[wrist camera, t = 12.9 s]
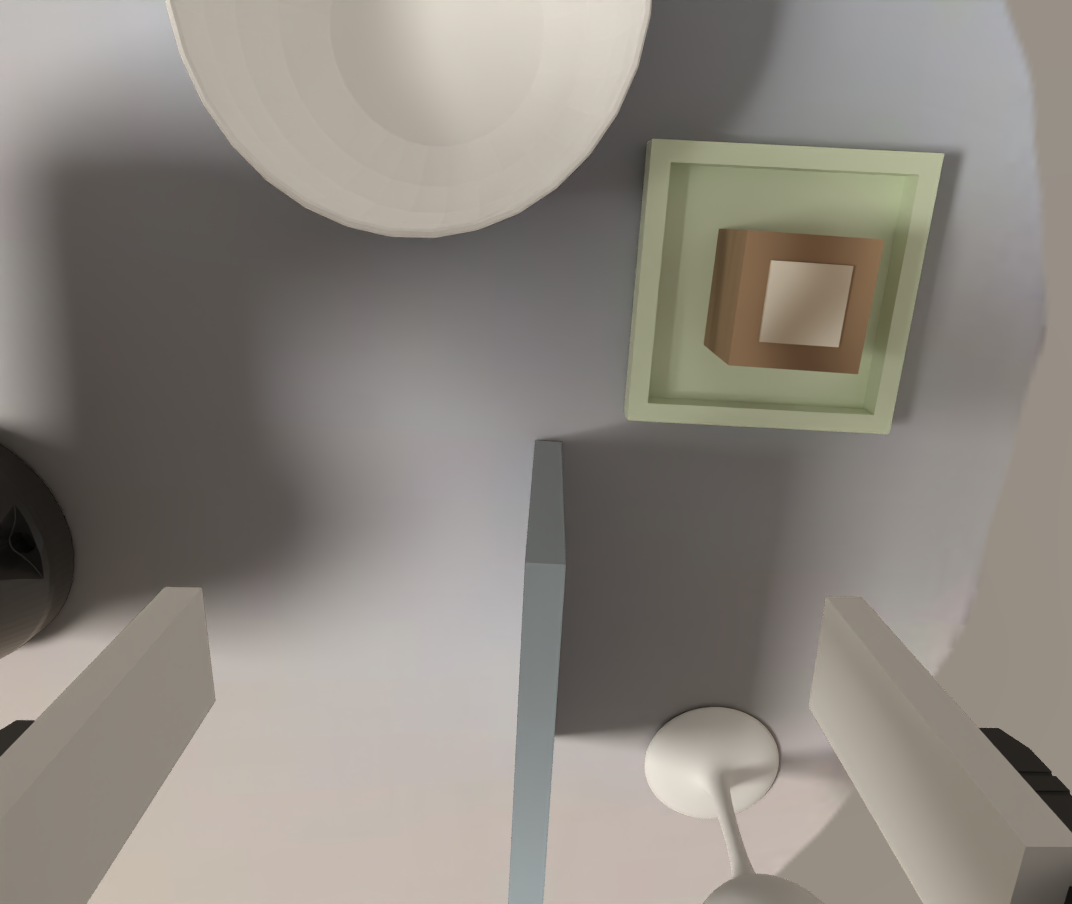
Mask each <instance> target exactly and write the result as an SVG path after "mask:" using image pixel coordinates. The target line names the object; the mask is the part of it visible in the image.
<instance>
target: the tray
mask: <svg viewBox="0 0 1072 904" xmlns="http://www.w3.org/2000/svg"><path fill="white" fill-rule="evenodd" d="M943 158H944V153H925V152H906V151H886V150H866V149H847V148H827V147H807V146H788V145H768V144H749V143H729V142H709V141H690V140H670V139H651V140H650V141H649V142H648V143H647V149H646V160H645V172H644V183H643V195H642V206H641V218H640V230H639V241H638V253H637V264H636V276H635V287H634V299H633V311H632V322H631V334H630V345H629V357H628V368H627V380H626V391H625V403H624V413H625V415H626V418H627V420H629V421H647V422H666V423H685V424H704V425H722V426H741V427H760V428H779V429H797V430H816V431H835V432H853V433H872V434H889V433H890V428H891V423H892V418H893V413H894V408H895V403H896V398H897V393H898V388H899V382H900V377H901V372H902V367H903V362H904V357H905V352H906V347H907V342H908V337H909V331H910V326H911V321H912V316H913V311H914V306H915V301H916V296H917V291H918V286H919V281H920V275H921V270H922V265H923V260H924V255H925V250H926V245H927V240H928V235H929V230H930V225H931V219H932V214H933V209H934V204H935V199H936V194H937V189H938V184H939V179H940V174H941V168H942V163H943ZM719 229H736V230H754V231H768V232H783V233H797V234H812V235H826V236H841V237H855V238H870V239H884V245H883V250H882V255H881V260H880V265H879V270H878V275H877V280H876V285H875V290H874V296H873V301H872V306H871V311H870V316H869V321H868V326H867V331H866V336H865V341H864V347H863V352H862V357H861V362H860V367H859V372H858V374H847V373H832V372H818V371H803V370H789V369H775V368H760V367H746V366H731V365H727V364H726V363H725V362H724V361H723V360H721V359H720V358H719V357H718V356H716V355H715V354H714V353H713V352H712V351H710V350H709V349H708V348H707V347H706V346H704V337H705V329H706V322H707V314H708V307H709V299H710V292H711V284H712V277H713V269H714V262H715V254H716V246H717V239H718V231H719Z"/></svg>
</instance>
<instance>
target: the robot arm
mask: <svg viewBox="0 0 1072 904" xmlns="http://www.w3.org/2000/svg"><path fill="white" fill-rule="evenodd" d="M73 570H74V555H73V546H72V541H71V536H70V533H69V529H68V526H67V524H66V521H65V518H64V516H63V514H62V512H61V510H60V508H59V506H58V504H57V502H56V500H55V499H54V497H53V496H52V494H51V493H50V491H49V490H48V488H47V487H46V486H45V484H44V483H43V482H42V481H41V479H40V478H39V477H38V476H37V475H36V474H35V473H34V472H33V471H32V470H31V469H30V468H29V467H28V466H27V465H26V464H25V463H24V462H23V461H22V460H21V459H19V458H18V457H17V456H16V455H14V454H13V453H12V452H10V451H9V450H8V449H6V448H5V447H3V446H2V445H0V659H1V658H3V657H5V656H6V655H8V654H10V653H12V652H13V651H15V650H17V649H18V648H20V647H21V646H22V645H24V644H25V643H26V642H27V641H29V640H30V639H31V638H32V637H34V636H35V635H36V634H37V633H39V632H40V631H41V630H42V629H44V628H45V627H46V626H47V625H48V624H49V623H50V622H51V621H52V620H53V619H54V618H55V616H56V615H57V614H58V613H59V611H60V610H61V608H62V606H63V604H64V603H65V601H66V598H67V596H68V593H69V590H70V587H71V583H72V578H73ZM215 701H216V700H215V692H214V683H213V675H212V667H211V658H210V650H209V642H208V633H207V625H206V617H205V608H204V600H203V592H202V588H200V587H164V588H163V589H162V590H161V591H160V592H159V594H158V595H157V596H156V597H155V598H154V599H153V600H152V601H151V602H150V603H149V604H148V605H147V606H146V607H145V608H144V609H143V610H142V611H141V612H140V613H139V614H138V615H137V616H136V617H135V618H134V619H133V620H132V621H131V622H130V623H129V624H128V626H127V627H126V628H125V629H124V630H123V631H122V632H121V633H120V634H119V635H118V636H117V637H116V638H115V639H114V640H113V641H112V642H111V643H110V644H109V645H108V646H107V647H106V648H105V649H104V650H103V651H102V652H101V653H100V654H99V655H98V656H97V658H96V659H95V660H94V661H93V662H92V663H91V664H90V665H89V666H88V667H87V668H86V669H85V670H84V671H83V672H82V673H81V674H80V675H79V676H78V677H77V678H76V679H75V680H74V681H73V682H72V683H71V684H70V685H69V686H68V687H67V688H66V690H65V691H64V692H63V693H62V694H61V695H60V696H59V697H58V698H57V699H56V700H55V701H54V702H53V703H52V704H51V705H50V706H49V707H48V708H47V709H46V710H45V711H44V712H43V713H42V714H41V715H40V716H39V717H38V718H37V719H36V721H34V720H16V721H15V722H13V723H11V724H10V725H8V726H6V727H5V728H3V729H1V730H0V904H87V902H88V901H89V899H90V897H91V896H92V894H93V893H94V891H95V890H96V888H97V886H98V885H99V883H100V882H101V880H102V879H103V877H104V875H105V874H106V872H107V871H108V869H109V868H110V866H111V864H112V863H113V861H114V860H115V858H116V857H117V855H118V853H119V852H120V850H121V849H122V847H123V845H124V844H125V842H126V841H127V839H128V838H129V836H130V834H131V833H132V831H133V830H134V828H135V827H136V825H137V823H138V822H139V820H140V819H141V817H142V816H143V814H144V812H145V811H146V809H147V808H148V806H149V805H150V803H151V801H152V800H153V798H154V797H155V795H156V794H157V792H158V790H159V789H160V787H161V786H162V784H163V783H164V781H165V779H166V778H167V776H168V775H169V773H170V772H171V770H172V768H173V767H174V765H175V764H176V762H177V761H178V759H179V757H180V756H181V754H182V753H183V751H184V750H185V748H186V746H187V745H188V743H189V742H190V740H191V739H192V737H193V735H194V734H195V732H196V731H197V729H198V728H199V726H200V724H201V723H202V721H203V720H204V718H205V717H206V715H207V713H208V712H209V710H210V709H211V707H212V706H213V704H214V702H215ZM809 709H810V710H811V712H812V714H813V715H814V717H815V719H816V721H817V722H818V724H819V726H820V727H821V729H822V731H823V733H824V734H825V736H826V738H827V739H828V741H829V743H830V745H831V746H832V748H833V750H834V751H835V753H836V755H837V757H838V758H839V760H840V762H841V763H842V765H843V767H844V769H845V770H846V772H847V774H848V775H849V777H850V779H851V781H852V782H853V784H854V786H855V787H856V789H857V791H858V793H859V794H860V796H861V797H862V799H863V801H864V803H865V805H866V806H867V808H868V810H869V811H870V813H871V815H872V816H873V818H874V820H875V822H876V823H877V825H878V827H879V829H880V830H881V832H882V834H883V835H884V837H885V839H886V841H887V842H888V844H889V846H890V847H891V849H892V851H893V853H894V854H895V856H896V858H897V859H898V861H899V863H900V865H901V866H902V868H903V870H904V871H905V873H906V875H907V877H908V878H909V880H910V882H911V883H912V885H913V887H914V888H915V890H916V892H917V894H918V895H919V897H920V899H921V901H922V902H923V904H1072V796H1071V795H1070V791H1069V789H1068V788H1066V786H1065V785H1064V784H1063V783H1062V782H1061V781H1060V780H1059V779H1058V778H1057V777H1056V776H1052V774H1051V771H1050V770H1049V768H1047V766H1046V765H1045V764H1044V763H1043V762H1042V761H1041V760H1040V759H1039V758H1038V757H1037V756H1036V755H1035V754H1034V753H1033V752H1032V751H1031V750H1030V749H1029V748H1028V747H1026V746H1025V745H1023V744H1022V743H1020V742H1019V741H1017V740H1016V739H1014V738H1013V737H1011V736H1009V735H1008V734H1007V733H1005V732H1004V731H1002V730H1000V729H999V728H978V727H977V726H976V725H975V724H974V722H973V721H972V720H971V719H970V718H969V717H968V716H967V715H966V713H965V712H964V711H963V710H962V709H961V708H960V707H959V706H958V705H957V703H956V702H955V701H954V700H953V699H952V698H951V697H950V696H949V695H948V693H947V692H946V691H945V690H944V689H943V688H942V687H941V686H940V684H939V683H938V682H937V681H936V680H935V679H934V678H933V676H932V675H931V674H930V673H929V672H928V671H927V670H926V669H925V668H924V666H923V665H922V664H921V663H920V662H919V661H918V660H917V659H916V657H915V656H914V655H913V654H912V653H911V652H910V651H909V650H908V648H907V647H906V646H905V645H904V644H903V643H902V642H901V641H900V639H899V638H898V637H897V636H896V635H895V634H894V633H893V632H892V631H891V629H890V628H889V627H888V626H887V625H886V624H885V623H884V622H883V620H882V619H881V618H880V617H879V616H878V615H877V614H876V613H875V611H874V610H873V609H872V608H871V607H870V606H869V605H868V604H867V603H866V601H865V600H864V599H863V598H862V597H834V596H826V599H825V605H824V611H823V618H822V624H821V631H820V637H819V643H818V650H817V656H816V663H815V669H814V675H813V682H812V688H811V695H810V701H809Z"/></svg>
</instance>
